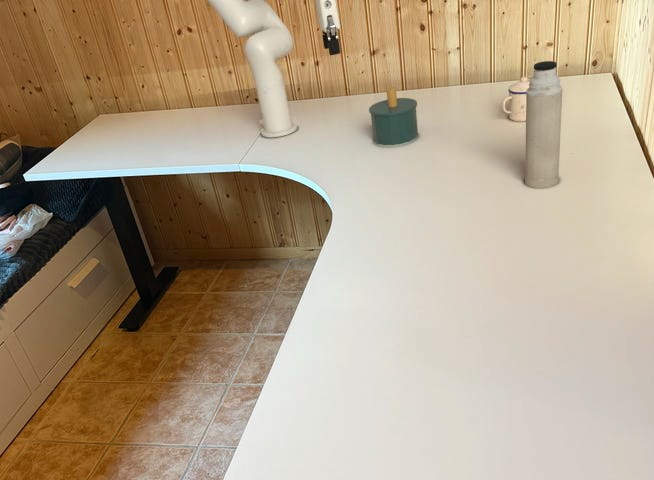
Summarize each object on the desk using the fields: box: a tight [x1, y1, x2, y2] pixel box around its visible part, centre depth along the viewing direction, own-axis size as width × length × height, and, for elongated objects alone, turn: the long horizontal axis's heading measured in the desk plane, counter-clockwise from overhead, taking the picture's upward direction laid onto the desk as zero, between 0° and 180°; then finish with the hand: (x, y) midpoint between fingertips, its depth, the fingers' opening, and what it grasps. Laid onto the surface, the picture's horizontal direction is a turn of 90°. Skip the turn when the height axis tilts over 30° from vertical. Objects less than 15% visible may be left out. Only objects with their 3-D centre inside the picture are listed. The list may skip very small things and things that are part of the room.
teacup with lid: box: [501, 76, 530, 122], centre depth 202 cm, size 12×9×12 cm
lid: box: [368, 86, 418, 116], centre depth 200 cm, size 15×15×6 cm
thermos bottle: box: [524, 60, 563, 189], centre depth 158 cm, size 8×8×28 cm
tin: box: [370, 107, 419, 146], centre depth 204 cm, size 14×14×10 cm
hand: (332, 51), depth 200 cm, fingers open, 9 cm apart
